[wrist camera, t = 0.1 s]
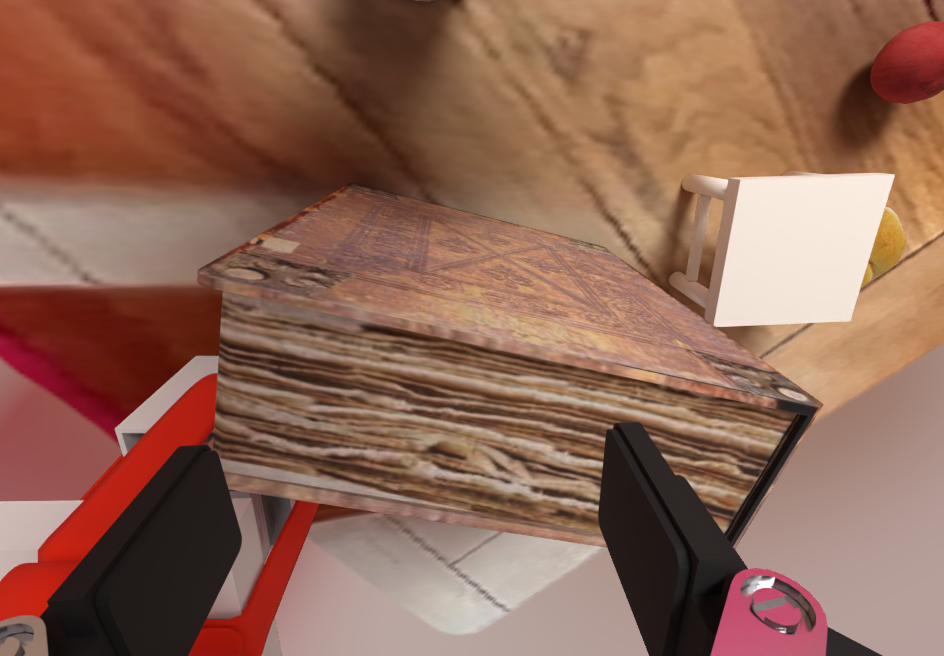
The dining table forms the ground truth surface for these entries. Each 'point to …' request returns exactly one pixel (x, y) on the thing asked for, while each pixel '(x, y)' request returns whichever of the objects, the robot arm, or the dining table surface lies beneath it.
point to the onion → (911, 65)
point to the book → (476, 373)
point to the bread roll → (885, 246)
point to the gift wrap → (143, 453)
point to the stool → (784, 246)
